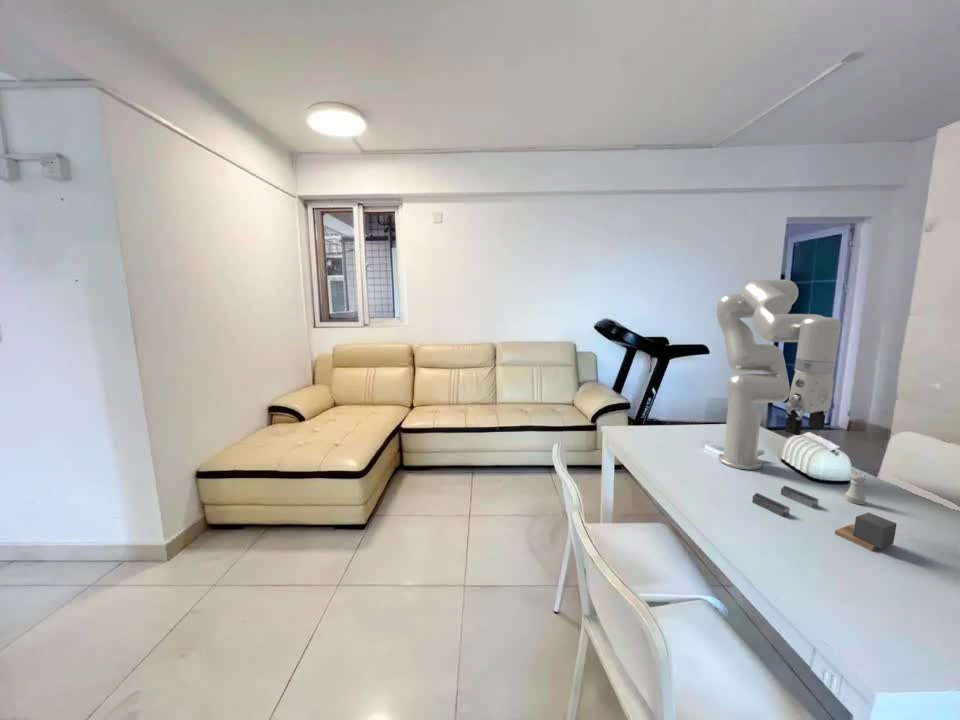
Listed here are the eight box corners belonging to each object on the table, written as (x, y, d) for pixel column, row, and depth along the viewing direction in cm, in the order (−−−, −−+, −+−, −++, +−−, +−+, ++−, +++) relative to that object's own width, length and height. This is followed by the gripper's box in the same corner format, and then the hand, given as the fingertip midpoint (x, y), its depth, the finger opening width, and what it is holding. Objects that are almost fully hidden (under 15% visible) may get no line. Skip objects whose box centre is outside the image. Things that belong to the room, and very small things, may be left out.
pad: (852, 527, 96) (852, 524, 96) (889, 544, 90) (890, 540, 90) (834, 533, 94) (835, 530, 94) (871, 551, 88) (872, 547, 87)
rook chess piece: (861, 499, 110) (865, 472, 109) (868, 506, 106) (873, 479, 105) (840, 495, 112) (844, 469, 111) (847, 503, 108) (851, 476, 107)
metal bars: (786, 492, 114) (787, 485, 114) (817, 506, 107) (818, 498, 106) (752, 502, 109) (753, 494, 109) (782, 516, 102) (783, 508, 101)
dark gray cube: (865, 531, 93) (868, 512, 92) (893, 543, 89) (896, 523, 88) (852, 536, 92) (856, 516, 91) (880, 548, 87) (883, 528, 86)
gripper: (810, 372, 91) (799, 441, 94) (852, 365, 97) (841, 430, 100) (776, 366, 98) (767, 430, 101) (817, 360, 104) (807, 421, 107)
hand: (804, 430), depth 101 cm, fingers open, 9 cm apart
